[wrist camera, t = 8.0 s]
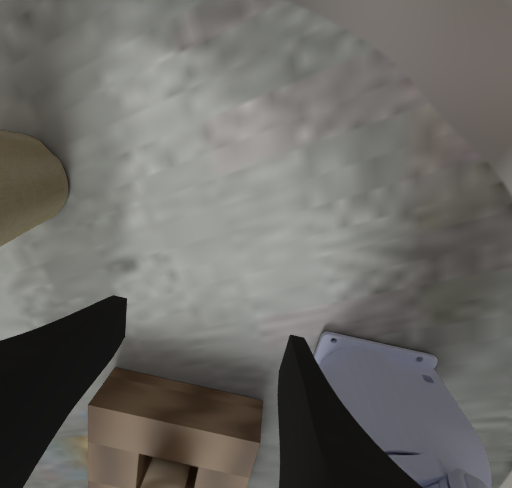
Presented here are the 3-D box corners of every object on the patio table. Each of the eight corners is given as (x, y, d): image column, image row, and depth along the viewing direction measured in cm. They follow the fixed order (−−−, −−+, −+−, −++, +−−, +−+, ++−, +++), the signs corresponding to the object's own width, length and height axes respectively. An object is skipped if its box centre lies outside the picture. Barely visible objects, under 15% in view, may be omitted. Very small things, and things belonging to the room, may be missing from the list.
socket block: (262, 400, 27) (260, 443, 23) (236, 493, 32) (230, 541, 28) (115, 367, 27) (87, 405, 23) (111, 465, 32) (88, 509, 28)
